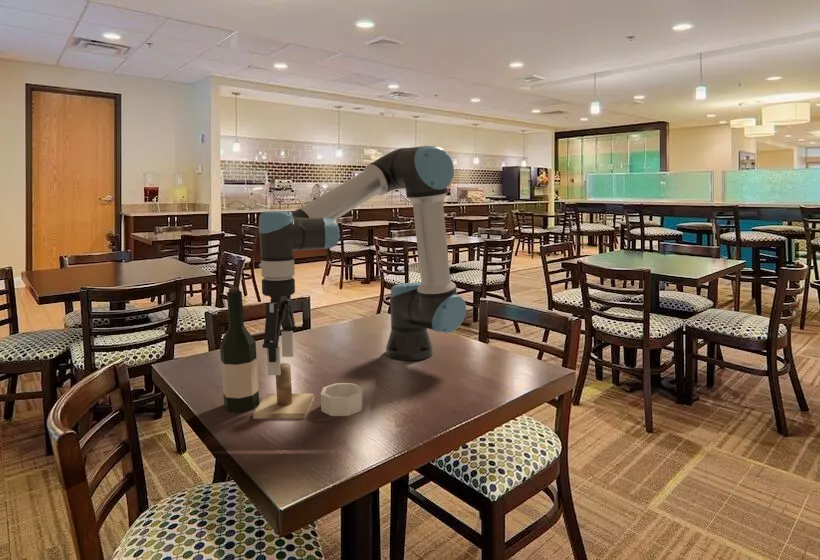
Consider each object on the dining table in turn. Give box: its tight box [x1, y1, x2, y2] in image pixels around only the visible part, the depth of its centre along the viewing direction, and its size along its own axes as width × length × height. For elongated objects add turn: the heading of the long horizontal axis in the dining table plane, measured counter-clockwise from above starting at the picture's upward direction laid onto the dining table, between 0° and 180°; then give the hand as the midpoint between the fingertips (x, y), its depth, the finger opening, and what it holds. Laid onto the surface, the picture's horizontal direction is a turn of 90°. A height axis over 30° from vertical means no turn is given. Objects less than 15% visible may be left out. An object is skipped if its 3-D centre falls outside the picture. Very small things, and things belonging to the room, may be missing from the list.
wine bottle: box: [219, 287, 260, 414], centre depth 130 cm, size 8×8×30 cm
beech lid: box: [252, 362, 315, 419], centre depth 130 cm, size 12×12×11 cm
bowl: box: [320, 382, 364, 417], centre depth 130 cm, size 10×10×5 cm
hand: (281, 365), depth 129 cm, fingers open, 13 cm apart
